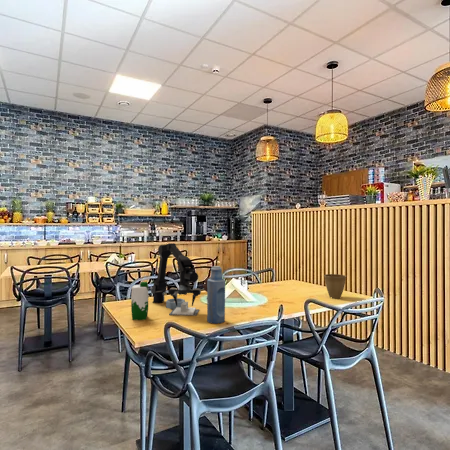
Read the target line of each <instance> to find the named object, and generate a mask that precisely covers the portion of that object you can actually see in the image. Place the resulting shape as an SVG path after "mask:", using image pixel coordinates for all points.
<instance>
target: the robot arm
mask: <svg viewBox="0 0 450 450" xmlns="http://www.w3.org/2000/svg"><path fill="white" fill-rule="evenodd" d="M157 251H158V256H159V264H158V272H157V278H156V279H155V280H154V282H153V285H152V287H151V288H150V293H151V294H153V295H152V296H153V301H152V303H153V304H154V303H156V304H157V303H159V304H161V303H163V302H164V301H165V294H164V293H166V292H167V293H168V295H170V296H171V297H172V299H173V298H174V300H175V303H176V306H177V305H178V301H177V298H178V295H180V296H182V295H184V296H187V295H188V294H192V299H191V307H193V306H194V304H195V300H196V297H198V296H200V295H201V294H202V290H201V287H200V288H198V287H197V288H193V289H191V286H190V285H191V284H190V283H196V282H197V281H198V279H199V274H198V273H197V272H196V270H195V267H194V264H193V262H192V260H191V258H189V257H188V256H186V255H184V254H183V253H182V251H181V250H180V249H179V247H177V244H176V243H167V244H160V245H159V246H158V249H157ZM172 255H173V257H174V259H175V260H176V264H177V266H178V268H179V269H178V272H179V286H178V288H176V287H171V288H169V289H168V290H167V288H168V282H167V280H166V274H167V265H168V259H169V258H170V256H172Z"/></svg>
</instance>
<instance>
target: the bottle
mask: <svg viewBox="0 0 450 450" xmlns="http://www.w3.org/2000/svg"><path fill="white" fill-rule="evenodd" d="M222 272H223V270H222V267H221V265H213V266H212V267H211V268H210V279H208V280H207V292H206V294H207V296H206V300H207V301H206V303H207V305H206V308H207V312H206V320H207V321H206V322H208V323H209V324H214V325H215V324H216V325H217V324H218V323H219V324H223V323H224V322H225V321H226V316H225V315H226V279H225V278H223V273H222ZM219 324H218V325H219Z"/></svg>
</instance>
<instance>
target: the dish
mask: <svg viewBox="0 0 450 450" xmlns="http://www.w3.org/2000/svg"><path fill="white" fill-rule="evenodd" d="M174 301H175V300H174V298H173V297H172V298H169V299H167V300H166V301H165V304H166V305H165V307H166V308H167V309H169V310H173V309H176V307H181V304H182V303H183V302H186V300H185V299H184V298H181V297H180V298H178V297H177V301H178V305H177V306H176V303H175V302H174Z"/></svg>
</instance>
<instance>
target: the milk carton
mask: <svg viewBox="0 0 450 450" xmlns="http://www.w3.org/2000/svg"><path fill="white" fill-rule="evenodd" d="M130 295H131V298H130V301H131V302H130V303H131V305H130V307H131V308H130V309H131V311H130V312H131V320H132V321H146V319H147V318H148V312H149V285H148V281H141V282H140V283H139V284H134V285H133V286H132V287H131V294H130Z"/></svg>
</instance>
